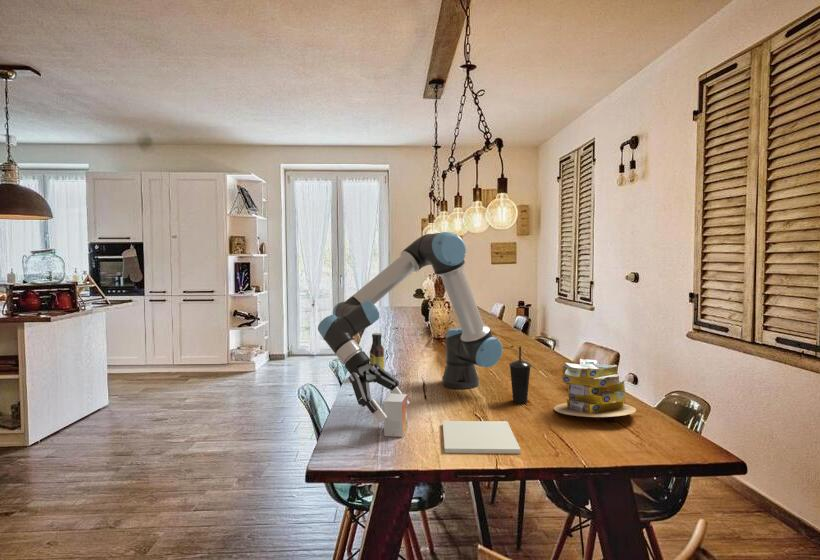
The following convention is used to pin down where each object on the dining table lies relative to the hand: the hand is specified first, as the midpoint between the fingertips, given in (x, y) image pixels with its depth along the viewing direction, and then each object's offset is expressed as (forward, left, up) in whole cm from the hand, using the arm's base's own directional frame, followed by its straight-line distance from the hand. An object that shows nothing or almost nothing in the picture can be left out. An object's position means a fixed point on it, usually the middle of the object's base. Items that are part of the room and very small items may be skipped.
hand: (395, 412), depth 132 cm
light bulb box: (-82, +20, -6) cm, 85 cm away
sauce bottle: (-32, -50, -6) cm, 60 cm away
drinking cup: (-50, +10, -6) cm, 52 cm away
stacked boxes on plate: (-57, +34, -6) cm, 66 cm away
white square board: (-14, +20, -6) cm, 25 cm away
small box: (0, 0, -6) cm, 6 cm away
